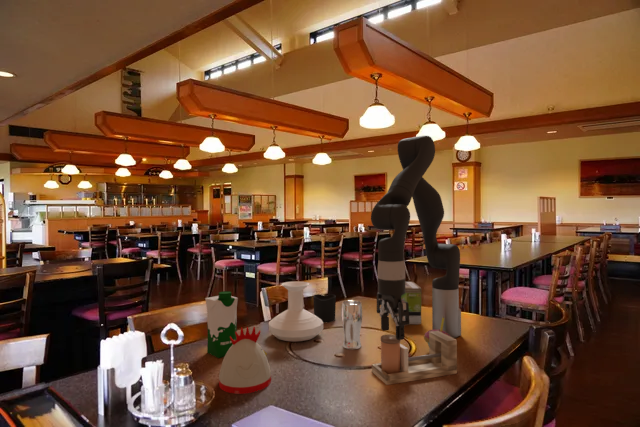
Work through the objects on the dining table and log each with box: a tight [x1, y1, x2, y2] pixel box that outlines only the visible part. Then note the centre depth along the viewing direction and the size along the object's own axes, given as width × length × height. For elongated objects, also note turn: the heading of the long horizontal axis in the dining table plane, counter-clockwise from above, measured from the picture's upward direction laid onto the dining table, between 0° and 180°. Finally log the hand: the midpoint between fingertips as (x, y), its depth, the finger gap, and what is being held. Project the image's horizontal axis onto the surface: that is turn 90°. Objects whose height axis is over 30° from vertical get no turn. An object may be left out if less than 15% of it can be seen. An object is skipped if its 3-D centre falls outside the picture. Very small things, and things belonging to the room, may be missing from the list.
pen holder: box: [312, 294, 337, 324], centre depth 170 cm, size 9×9×10 cm
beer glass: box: [341, 299, 363, 350], centre depth 137 cm, size 7×7×15 cm
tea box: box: [398, 281, 422, 325], centre depth 170 cm, size 15×10×15 cm, turn 179°
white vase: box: [268, 280, 324, 342], centre depth 149 cm, size 20×20×19 cm
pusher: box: [400, 343, 441, 372], centre depth 116 cm, size 19×6×7 cm, turn 108°
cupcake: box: [423, 316, 451, 346], centre depth 131 cm, size 9×8×12 cm
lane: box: [371, 331, 458, 386], centre depth 115 cm, size 22×9×10 cm, turn 108°
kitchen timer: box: [218, 326, 272, 395], centre depth 110 cm, size 14×14×15 cm
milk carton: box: [204, 290, 239, 359], centre depth 132 cm, size 9×9×20 cm
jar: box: [380, 334, 401, 374], centre depth 113 cm, size 5×5×10 cm
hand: (392, 334), depth 113 cm, fingers open, 8 cm apart
